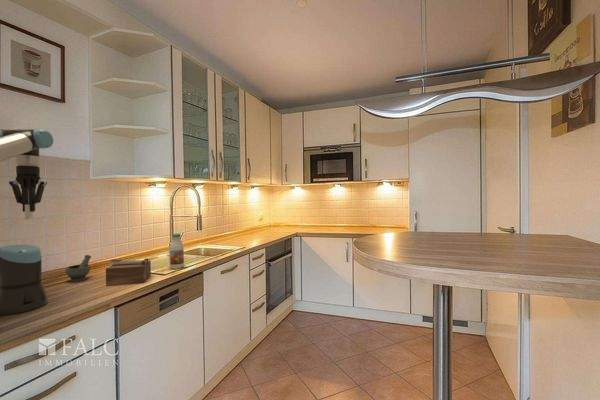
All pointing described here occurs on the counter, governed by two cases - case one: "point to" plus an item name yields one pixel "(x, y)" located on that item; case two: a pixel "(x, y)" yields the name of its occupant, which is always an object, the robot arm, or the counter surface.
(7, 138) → the robot arm
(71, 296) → the counter surface
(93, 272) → the counter surface
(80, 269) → the mortar and pestle
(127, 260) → the clasp bar
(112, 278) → the crate
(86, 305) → the counter surface
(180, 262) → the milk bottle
